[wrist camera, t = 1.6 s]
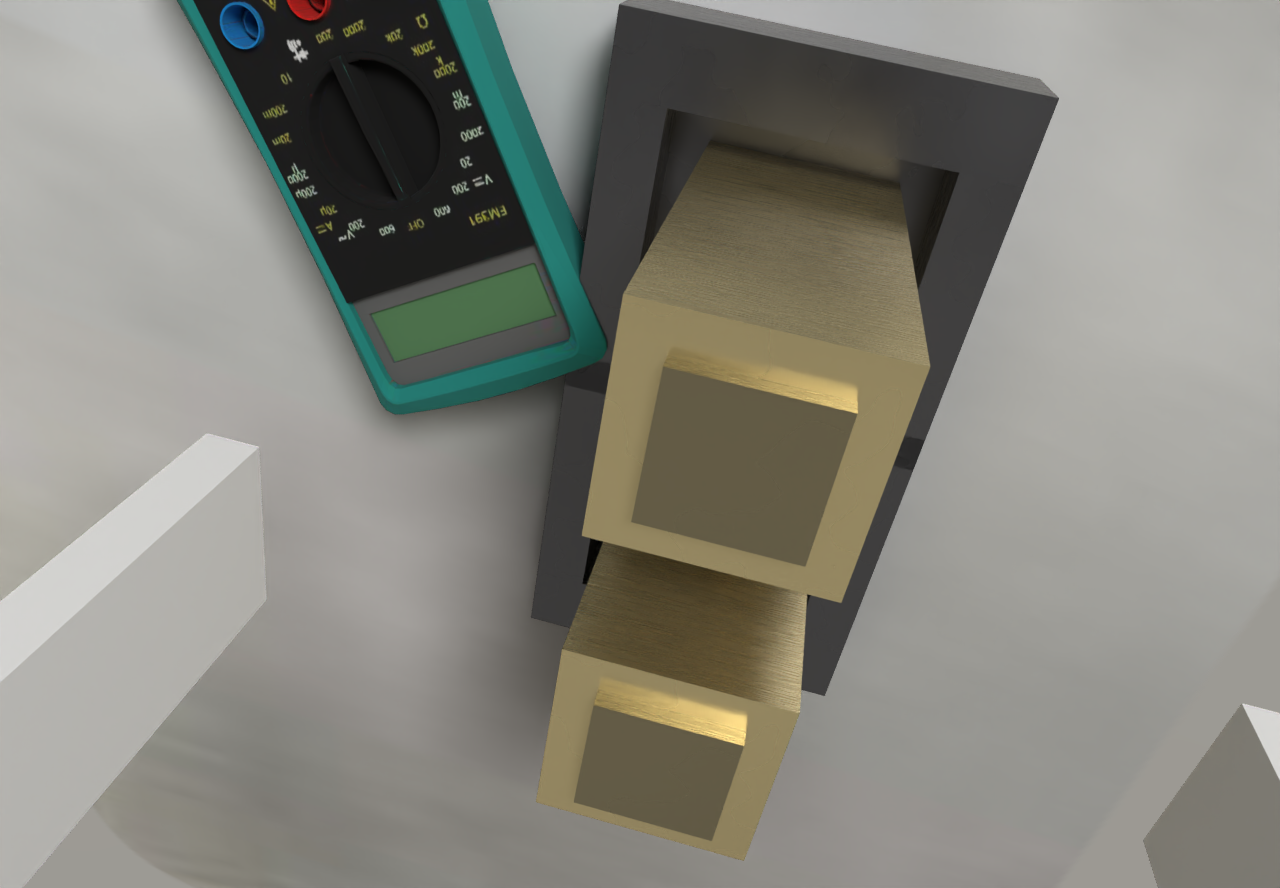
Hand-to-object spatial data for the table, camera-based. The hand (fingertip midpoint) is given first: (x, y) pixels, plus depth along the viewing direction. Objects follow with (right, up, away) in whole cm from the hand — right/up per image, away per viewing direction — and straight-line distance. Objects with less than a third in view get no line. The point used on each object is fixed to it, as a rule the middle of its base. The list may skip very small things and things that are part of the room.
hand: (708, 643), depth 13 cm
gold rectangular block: (+2, +1, +17) cm, 17 cm away
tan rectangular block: (+3, +8, +13) cm, 15 cm away
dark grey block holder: (+2, +5, +15) cm, 16 cm away
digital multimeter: (-7, +11, +13) cm, 19 cm away
